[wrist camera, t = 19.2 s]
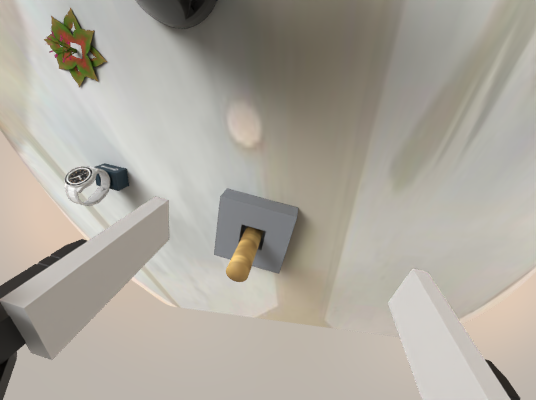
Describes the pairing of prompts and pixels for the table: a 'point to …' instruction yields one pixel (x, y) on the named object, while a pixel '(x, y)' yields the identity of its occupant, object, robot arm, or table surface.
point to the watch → (104, 178)
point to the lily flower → (64, 53)
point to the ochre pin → (244, 255)
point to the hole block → (257, 216)
